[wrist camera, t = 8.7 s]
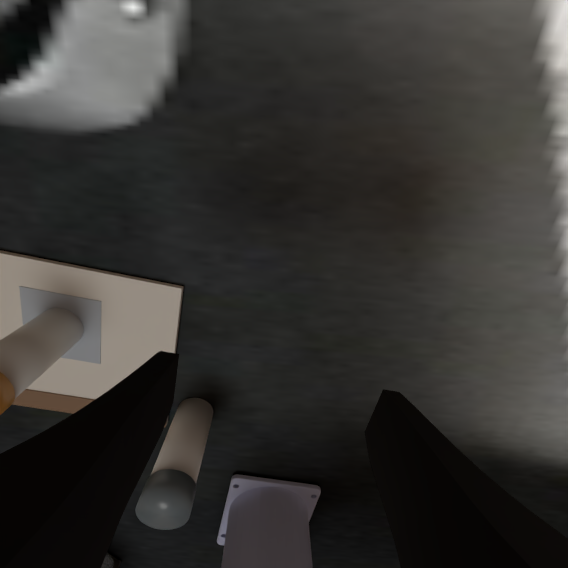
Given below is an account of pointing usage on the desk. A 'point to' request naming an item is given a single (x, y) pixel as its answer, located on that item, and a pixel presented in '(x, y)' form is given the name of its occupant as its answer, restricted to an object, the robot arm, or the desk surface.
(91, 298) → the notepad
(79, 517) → the robot arm
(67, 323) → the orange cap marker
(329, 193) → the desk surface
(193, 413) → the dark cap marker
